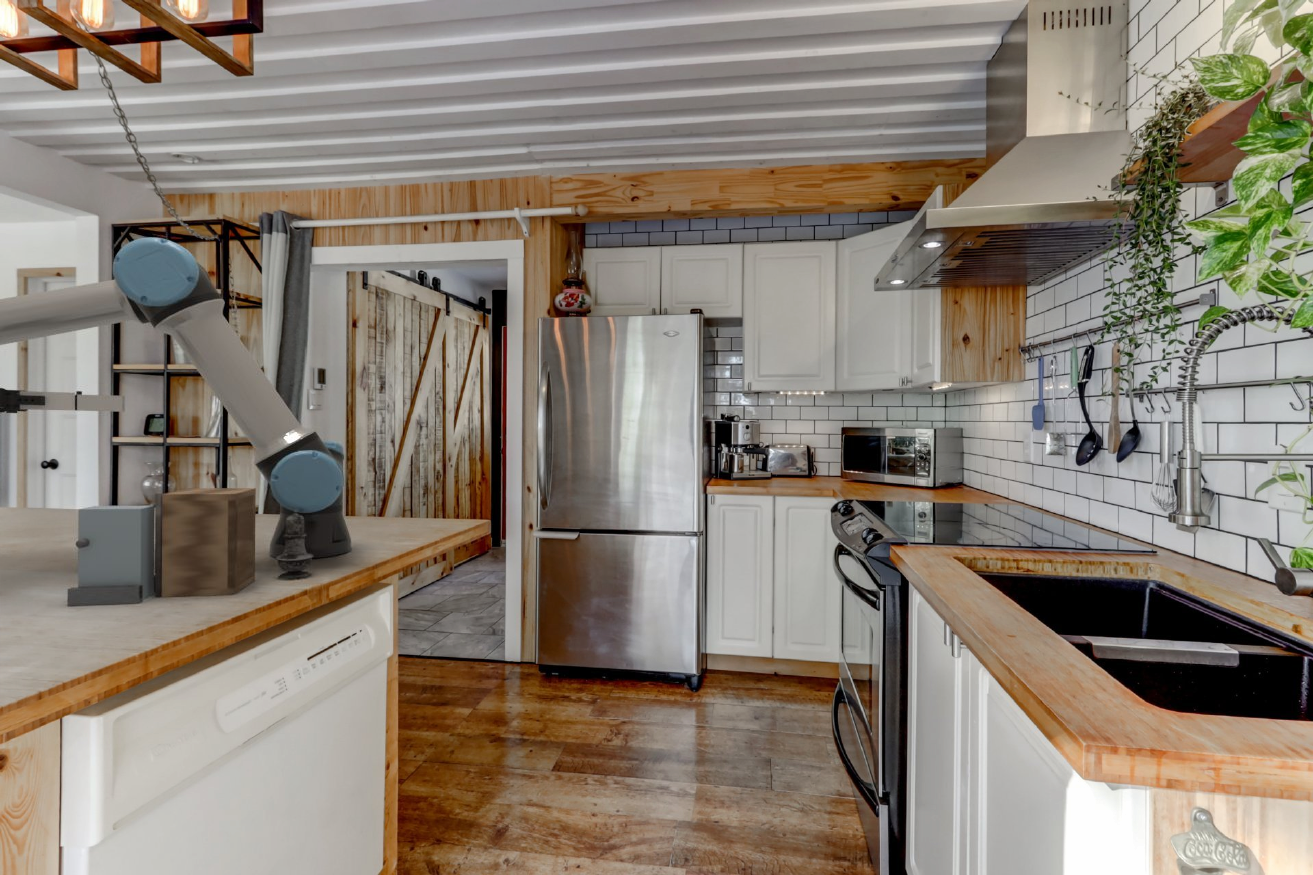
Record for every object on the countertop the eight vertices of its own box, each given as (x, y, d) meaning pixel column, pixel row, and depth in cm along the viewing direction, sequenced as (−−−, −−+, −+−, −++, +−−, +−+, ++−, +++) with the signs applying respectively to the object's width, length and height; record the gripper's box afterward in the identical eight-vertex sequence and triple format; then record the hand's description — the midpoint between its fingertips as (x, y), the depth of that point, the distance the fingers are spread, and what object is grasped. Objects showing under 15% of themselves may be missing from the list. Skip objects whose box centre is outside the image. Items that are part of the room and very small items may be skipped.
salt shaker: (307, 571, 119) (308, 506, 119) (317, 576, 115) (318, 509, 115) (271, 575, 115) (272, 508, 115) (280, 582, 111) (281, 512, 111)
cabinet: (153, 597, 100) (154, 494, 100) (180, 583, 109) (181, 488, 109) (234, 594, 103) (235, 494, 102) (254, 580, 112) (255, 488, 111)
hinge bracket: (67, 605, 95) (67, 588, 95) (97, 592, 102) (98, 576, 102) (138, 603, 97) (139, 586, 97) (163, 590, 104) (163, 574, 104)
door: (73, 604, 95) (74, 510, 95) (94, 595, 100) (94, 505, 100) (137, 602, 97) (137, 509, 97) (153, 593, 102) (154, 505, 102)
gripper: (-2, 422, 112) (140, 425, 117) (-140, 423, 88) (48, 426, 93) (-2, 379, 112) (141, 383, 117) (-140, 367, 87) (48, 374, 93)
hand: (100, 402), depth 105 cm, fingers open, 13 cm apart
